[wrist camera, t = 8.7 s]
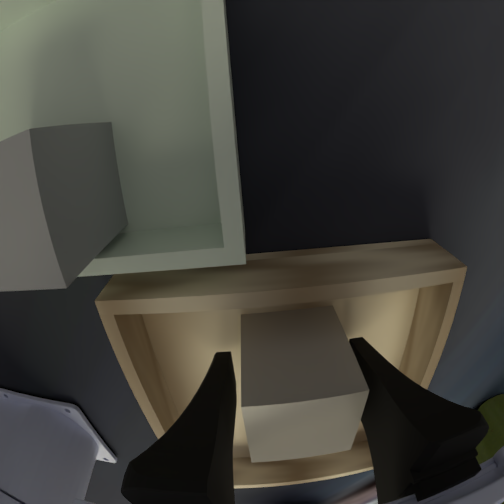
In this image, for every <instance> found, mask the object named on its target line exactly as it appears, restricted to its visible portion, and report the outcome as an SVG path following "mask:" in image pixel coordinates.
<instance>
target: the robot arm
mask: <svg viewBox="0 0 504 504" xmlns="http://www.w3.org/2000/svg"><path fill="white" fill-rule="evenodd" d="M349 343H350V345H351V348H352V350H353V352H354V355H355V357H356V359H357V362H358V364H359V366H360V369H361V371H362V373H363V376H364V378H365V381H366V383H367V385H368V388H369V394H368V397H367V401H366V404H365V407H364V411H363V414H362V417H361V422H362V424H363V427H364V430H365V433H366V437H367V441H368V445H369V449H370V454H371V458H372V463H373V469H374V475H375V481H376V488H377V496H378V504H501V503H502V502H504V446H503V447H502V448H500V449H499V450H498V451H497V452H496V453H495V455H494V456H493V457H492V458H490V459H488V460H487V461H485V462H483V463H481V464H479V463H478V461H477V459H476V456H477V455H478V452H477V450H476V447H477V446H478V445H479V443H480V442H481V441H482V440H483V438H484V437H485V436H486V434H487V433H488V430H489V425H488V423H487V422H486V420H485V418H484V417H483V415H482V414H481V412H480V411H478V410H474V409H471V408H467V407H464V406H461V405H458V404H456V403H453V402H451V401H448V400H446V399H444V398H442V397H440V396H438V395H436V394H434V393H432V392H430V391H428V390H427V389H425V388H423V387H422V386H420V385H419V384H417V383H415V382H414V381H412V380H411V379H410V378H408V377H407V376H406V375H404V374H403V373H402V372H400V371H399V370H398V369H397V368H396V367H394V366H393V365H392V364H391V363H390V362H389V361H388V360H386V359H385V358H384V357H383V356H382V355H381V354H380V353H379V352H378V351H377V350H376V349H375V348H374V347H373V346H371V345H370V344H369V343H368V342H367V341H366V340H365V339H364V338H363V337H358V338H352V339H349ZM236 407H237V391H236V379H235V373H234V367H233V361H232V355H231V351H228V352H216V353H215V355H214V357H213V360H212V363H211V365H210V367H209V369H208V372H207V374H206V376H205V378H204V379H203V381H202V383H201V385H200V387H199V389H198V390H197V392H196V394H195V395H194V397H193V398H192V400H191V402H190V403H189V405H188V406H187V407H186V409H185V410H184V411H183V413H182V414H181V415H180V417H179V418H178V419H177V420H176V421H175V423H174V424H173V425H172V426H171V427H170V428H169V429H168V430H167V431H166V433H165V434H164V435H163V436H161V437H160V438H159V439H158V440H157V441H156V442H155V443H154V444H153V445H152V446H151V447H149V448H148V449H147V450H146V451H144V452H143V453H142V454H140V455H139V456H138V457H136V458H135V459H133V460H132V461H131V462H130V463H129V465H128V467H127V470H126V472H125V475H124V479H123V483H122V488H121V493H122V495H123V496H124V497H125V498H126V499H127V500H128V501H129V502H131V503H132V504H235V500H234V479H233V440H234V429H235V418H236ZM95 460H101V461H106V462H112V463H116V462H117V458H116V456H115V455H114V454H113V453H112V451H111V450H110V449H109V448H108V446H107V445H106V444H105V443H104V441H103V440H102V439H101V437H100V436H99V435H98V434H97V432H96V431H95V430H94V428H93V427H92V425H91V424H90V423H89V421H88V420H87V418H86V417H85V416H84V414H83V413H82V411H81V410H80V408H79V407H78V406H76V405H74V404H70V403H65V402H59V401H54V400H49V399H44V398H39V397H34V396H30V395H26V394H22V393H18V392H14V391H10V390H6V389H2V388H0V504H95V503H91V502H88V501H84V498H85V495H86V491H87V487H88V484H89V480H90V477H91V474H92V470H93V467H94V464H95Z"/></svg>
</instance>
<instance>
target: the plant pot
mask: <svg viewBox="0 0 504 504" xmlns="http://www.w3.org/2000/svg"><path fill="white" fill-rule="evenodd" d="M478 411H480V412H481V414H482V415H483V417H484V418H485V420H486V422H487V423H488V425H489V430H488V433H487V434H486V436H485V437H484V438H483V440H482V441H481V442H480V443H479V445H478V446H477V447H476V450H477V452H478V455H477V456H476V459H477V461H478V463H479V464H481V463H483V462H485V461H487V460H488V459H490V458H492V457H493V456H494V455H495V453H496V452H497V451H498V450H499V449H500V448H502V447H503V446H504V394H500V395H497V396H495V397H493V398H490V399H489V400H487V401H486V402H484V403H483V404H482V405H481V406H480V407H479V409H478ZM501 504H504V502H502V503H501Z"/></svg>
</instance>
